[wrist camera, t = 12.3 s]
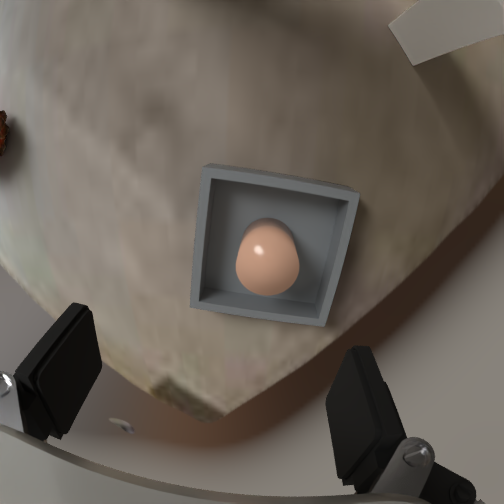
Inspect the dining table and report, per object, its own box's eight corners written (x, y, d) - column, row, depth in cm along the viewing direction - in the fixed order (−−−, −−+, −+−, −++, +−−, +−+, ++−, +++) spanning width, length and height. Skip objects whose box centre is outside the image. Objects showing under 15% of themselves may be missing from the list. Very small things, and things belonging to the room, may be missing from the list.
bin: (210, 163, 33) (202, 166, 29) (349, 186, 34) (360, 193, 29) (197, 289, 39) (189, 307, 35) (319, 307, 39) (324, 326, 35)
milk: (443, 54, 26) (569, 21, 6) (411, 66, 28) (542, 26, 7) (419, 14, 25) (528, -48, 4) (385, 24, 26) (493, -52, 5)
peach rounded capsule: (245, 213, 34) (240, 232, 28) (298, 222, 34) (305, 242, 28) (238, 262, 37) (231, 290, 30) (288, 270, 37) (292, 299, 30)
